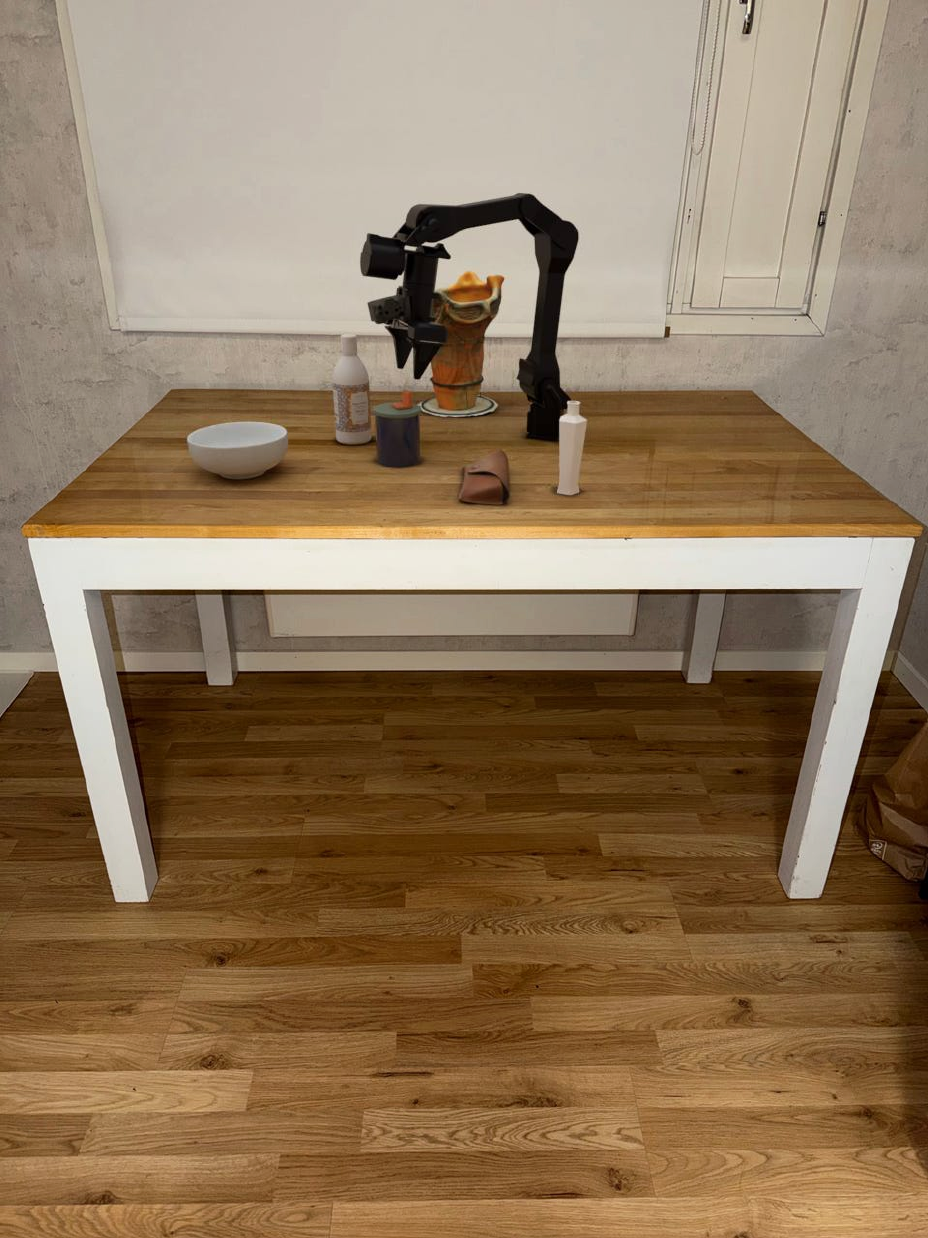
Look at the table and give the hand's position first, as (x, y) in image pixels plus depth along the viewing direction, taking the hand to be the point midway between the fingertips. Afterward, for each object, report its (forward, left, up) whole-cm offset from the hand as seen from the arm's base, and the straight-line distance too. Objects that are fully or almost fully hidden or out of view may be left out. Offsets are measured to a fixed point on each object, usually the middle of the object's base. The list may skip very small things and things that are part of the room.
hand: (408, 373), depth 157 cm
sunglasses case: (-20, +13, -15) cm, 28 cm away
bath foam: (+13, -2, -15) cm, 20 cm away
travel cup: (0, +6, -15) cm, 16 cm away
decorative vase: (+4, -33, -15) cm, 36 cm away
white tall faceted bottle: (-34, +10, -15) cm, 38 cm away
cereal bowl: (+22, +23, -15) cm, 35 cm away
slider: (0, +6, -5) cm, 8 cm away
